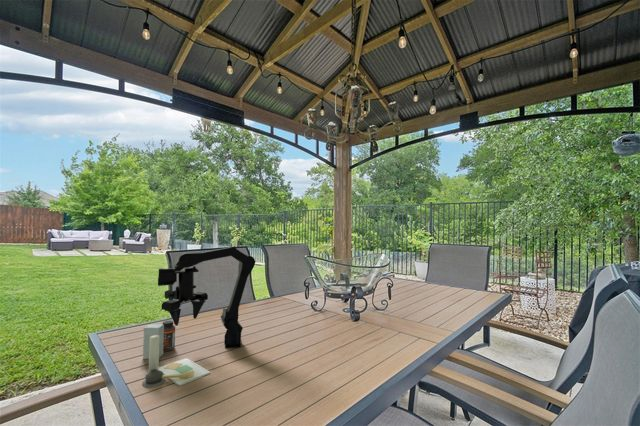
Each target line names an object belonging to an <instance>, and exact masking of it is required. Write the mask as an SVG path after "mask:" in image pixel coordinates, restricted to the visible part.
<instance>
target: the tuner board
mask: <svg viewBox="0 0 640 426" xmlns="http://www.w3.org/2000/svg"><path fill="white" fill-rule="evenodd" d="M158 371H162V372H163V375H173V374H184V373H190V374H189V377H185V378H183V377H180V378H165V379H162V380H161V381H160V382H157V383H154V384H147V383H146V382H145V379H144V380H143V381H142V383H141V386H142V387H144V388H153V387H158V386H160V385H162V384H164V383H165V381H167V380H166V379H169V380H170V381H171V382H173V383H174V384H175V385H177V386H178V387H180V386H183V385H185V384H188V383H190V382H193V381H195V380H198V379H200V378H203V377H205V376H207V375H210V374H211V371H209V370H208V369H206V368H204V367H203V366H201V365H199V364H197V363H196V362H194V361H193V360H190V359H189V358H187V357H185V358H181V359H179V360H175V361H173V362H170V363H168V364H165V365H161V366H158Z"/></svg>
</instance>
